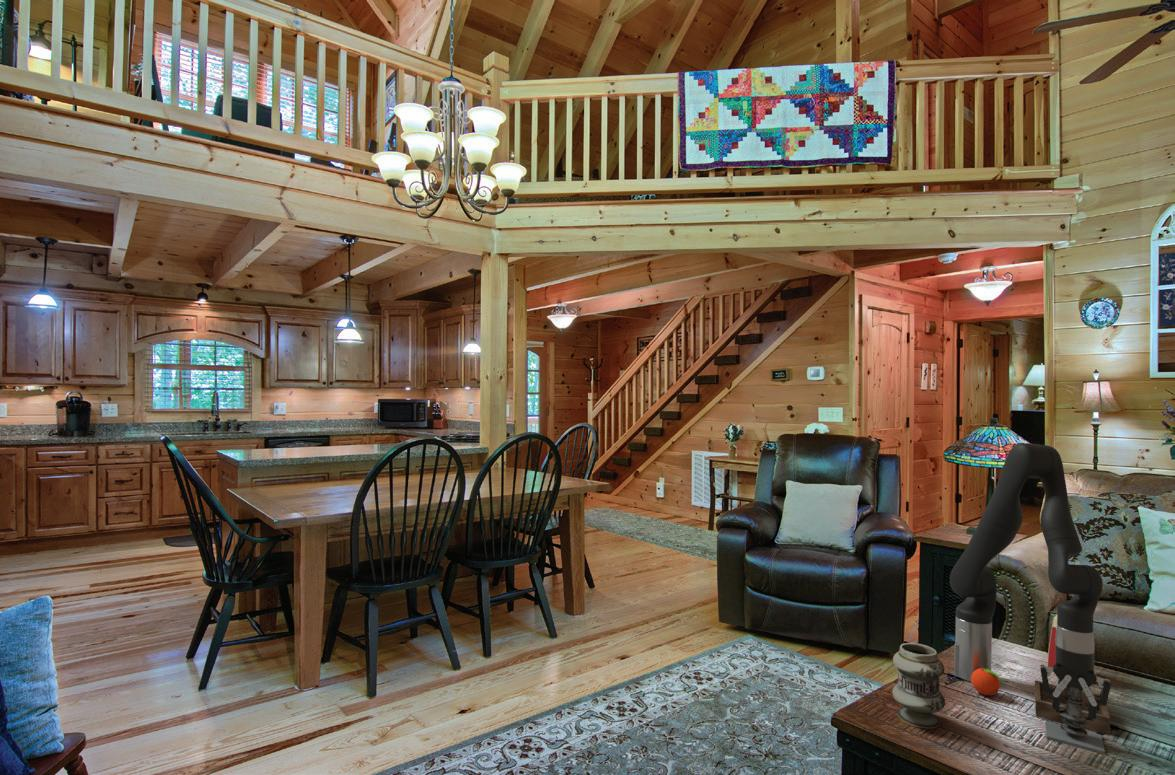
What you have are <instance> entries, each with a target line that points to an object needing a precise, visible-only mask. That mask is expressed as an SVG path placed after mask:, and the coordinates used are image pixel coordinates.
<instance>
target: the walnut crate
mask: <svg viewBox="0 0 1175 775" xmlns="http://www.w3.org/2000/svg"><path fill="white" fill-rule="evenodd" d="M1055 685H1056V684H1054V683H1049V686H1050V687H1052V688H1054V687H1055ZM1092 693H1093V692H1092ZM1093 695H1094V697H1095V698H1099V697H1100V693H1093ZM1065 696H1067V687H1065V688H1064V690H1063V691H1062V692H1061V693H1060V695H1059V698H1060V703H1064V704H1066V699H1065ZM1041 698H1042V699H1047V700H1050V701H1052V695H1051V694H1050V693H1047V692H1045V691H1044V688H1043V682H1042V681H1040V680H1034V706H1035V707H1034V708H1035V717H1038V718H1042V719H1044V720H1050V721H1053V722H1058V723H1062V724H1064V722H1063V720H1062V719H1061V716H1060V713H1058V712H1056V710H1055V709H1053V707H1052V702H1049V701H1046V700H1045V701H1044V700H1041ZM1081 700H1082V701H1083V703H1082V708H1084V709H1088V704H1089V702H1090V701H1089V699H1088V697H1087V696H1086V694H1085V692H1084V690H1083V691H1081ZM1065 708H1066V706H1065V705H1060V706H1059V710H1061V709H1065ZM1096 712H1099V713H1096V719H1093V721H1090V720H1089V721H1088V722H1087V725H1086V726H1085V727H1083V729H1084V730H1090V731H1092V732H1093V731H1094V732H1097V733H1102V734H1106V735H1111V717H1110V714H1109V713H1110V712H1109V710H1108V707H1107V705H1106V706H1103V705H1098V706H1097V708H1096ZM1082 713H1083V714H1084V715H1086V716H1087V717H1088V711H1087V710H1082Z"/></svg>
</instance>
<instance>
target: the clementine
mask: <svg viewBox="0 0 1175 775" xmlns="http://www.w3.org/2000/svg"><path fill="white" fill-rule="evenodd" d="M971 684H972V687H973V688H974V690H976V691H977V692H978V693H979V694H981V695H984V696H993V695H996V694H997V693H998V692H999V690H1000V687H1001V685H1003V681H1002V679H1001V678H1000V677H999V675H998V674H996V673H995V672H993V671H992V669H991V670H989V669H985V668H980V669H977V670H975V671H974V672H973V673H972V675H971Z"/></svg>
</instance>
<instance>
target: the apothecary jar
mask: <svg viewBox="0 0 1175 775" xmlns="http://www.w3.org/2000/svg"><path fill="white" fill-rule="evenodd" d="M892 663H893V665H894V667H896V668H897V683H896V684H895V685H894V686H893V687H892V696H893V698H894V700H895V701H896V702H897V703H898V704H899V705H900V706H902V707H901V709H899V710H897V711H896V716H897V718H898V719H899V720H901V721H902V722H903V723H905V724H908V725H909V726H912V727H916V728H921V729H937V728H938V727H939V726H940V725H941V722H940V719H939V718H938V717H937V715H935V714H934V713H937V712H940V711H942V710H944V708H945V705H946V700H945V699H946V698H945V696H944V695H943V693H942V692H941V691H940V677H941V676H943V674H944V673H945V664H944V663H943V662H942V661H941V660H940V659H939V657H938V653H937V651H936V649H934V647H930V646H929V645H926V644H922V643H915V642H914V643H913V642H906V643H902V644H900V646H899V650H898V651H897V652H896V653H894V655H893V658H892Z"/></svg>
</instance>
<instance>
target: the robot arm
mask: <svg viewBox="0 0 1175 775" xmlns="http://www.w3.org/2000/svg"><path fill="white" fill-rule="evenodd" d="M1064 469H1065V468H1064V465H1063V460H1062V457H1061V454H1060V452H1059V451H1058V450H1057V449H1056V448H1055V447H1053V446H1051V445H1047V444H1037V443H1029V442H1028V443H1027V442H1019V443H1017V444H1015V445H1013V446H1012V448H1010V450H1009V452H1008V454H1007V456H1006V457H1005V461H1004V463H1003V466H1002V469H1001V473H1000V474H999V478H998V481H997V484H996V486H995V489H994V491H993V493H992V494H991V497H990V500H989V501H988V504H987V505H986V506H985V507H986V508H985V509H984V511H983V513H982V515H981V516H980V519H979V521H978V524H977V527H976V528H975V531H974V532H973V534H972V536H971V537H970V540H969V542H968V544H967V546H966V547H965V549H964V551H963V553H962V554H961V555H960V557H959V558H958V559H957V561H956V563H954V564H955V565H954V566H953V568H952V570H951V571H950V575H949V585H950V588H951V589H952V592H954V594H956V595H957V596H959V597H963V598H965V599H964V600H963V601H962V602H961V603H960V604H958V605H957V606H956V608H955V641H954V659H953V661H954V663H953V664H954V666H953V668H954V672H953V673H954V677H958V678H960V679H962V680H964V681H967V682H971V675H972V673H973V672H974V671H975V670H977V669H980V668H985V669H989V670H991V671H992V655H993V654H992V650H993V649H992V648H993V647H992V644H993V643H992V642H993V640H992V639H993V638H992V637H993V635H992V634H993V633H992V632H993V616H994V614H995V612H996V605H997V604H996V603H997V591H998V590H997V589H998V586H997V579H996V575H995V572H994V571H993V570H992V569H991V568H990V567H989V566H988V564H989V563H990V562H991V561H992V560H993V559H994V558H996V557H997V556H998V555H999V554H1000V553H1002V552H1003V551H1004V550H1005V549H1006V548H1008V547H1009V545H1011V544H1012V542H1013V541H1014V539H1015V538H1016V536H1017V534H1018V533H1019V530H1020V528H1021V526H1022V524H1023V521H1024V520H1023V518H1024V517H1023V510H1022V506H1021V504H1022V503H1021V501H1020V495H1021V491H1022V489H1023V487H1024V485H1025V483H1026V481H1027V480H1028V479H1039V480H1040V482H1041V484H1042V487H1043V489H1044V490H1043V491H1044V503H1043V506H1042V510H1041V514H1040V528H1041V531H1042V534H1043V538H1044V540H1045V544H1046V547H1047V555H1048V557H1047V558H1048V562H1047V563H1048V567H1047V569H1048V570H1047V575H1048V581H1049V583H1050V585H1051V586H1052V587H1053V589H1054V590H1056V591H1057V592H1058V593H1060V594H1065V595H1074V596H1073V597H1072V598H1071V599H1069V600H1065V601H1064V600H1063V601H1061V602H1060V603H1058V604H1057V607H1056V615H1057V630H1056V638H1055V641H1056V657H1055V665H1054V666H1053V667H1047V666H1046V665H1045V664H1040V665H1039V670H1040V676H1041V682H1043V688H1044V691H1045V692H1047V693H1050V694H1051V695H1052V700H1051V703H1052V707H1053V709H1055V710H1056V712H1058V713H1059V706H1060V703H1061V702H1060V698H1059V695H1060V693H1061V692H1062V691H1063V690H1064V688H1065V687H1067V688H1070V687H1075V688H1078V689H1079V690H1080V691H1084V692H1085V694H1086V696H1087V697H1088V699H1089V701H1090V702H1089V704H1088V708H1087V709H1088V711H1087V712H1088V718H1089V720H1090V721H1093V719H1096V714H1097V710H1096V708H1097V706H1098V705H1103V706H1107V704H1108V701H1109V700H1108V699H1109V695H1110V690H1111V686H1112V684H1111V680H1110V679H1109V678H1107V677H1105V678H1102V677H1100V676H1097V674H1096V675H1095V673H1096V672H1095V673H1094V667H1095V637H1094V614H1095V611H1096V609H1097V606H1098V604H1099V601H1100V597H1101V595H1102V591H1103V586H1104V584H1103V583H1104V581H1103V577H1102V575H1101V573H1100V571H1098V569H1096V568H1095V567H1094V566H1092V565H1088V564H1069V558H1070V557H1075V556H1077V555H1080V553H1082V551H1083V546H1082V544H1081V540H1080V537H1079V535H1078V532H1077V528H1076V526H1075V523H1074V520H1073V517H1072V513H1071V510H1070V505H1069V497H1068V489H1067V483H1066V478H1065V477H1066V476H1065V470H1064ZM1052 673H1054V675H1055V676H1056V677H1057V679H1058V680H1057V682H1056V683H1055V684H1054V685H1055V687H1054V688H1052V687H1050V686H1049V684H1050V682H1049V677H1050V676H1052ZM1096 682H1097V683H1098V686H1099V688H1100V693H1099V695H1100V697H1099V698H1095V697H1094V695H1093V691H1092V689H1091V686H1093V685H1094V684H1095V683H1096ZM971 683H972V682H971Z"/></svg>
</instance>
